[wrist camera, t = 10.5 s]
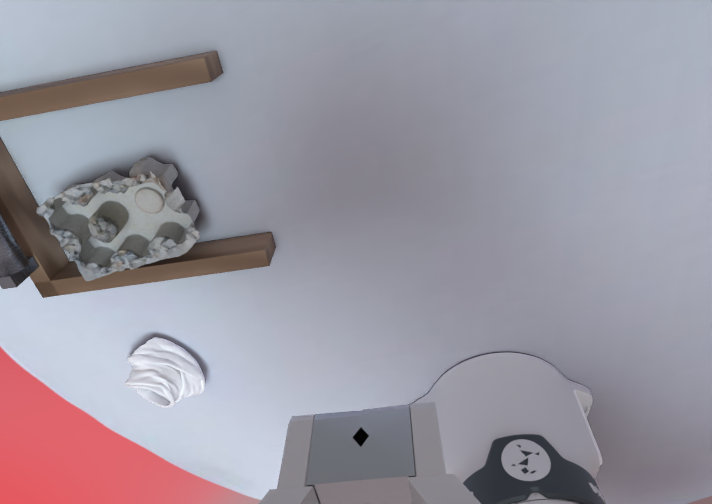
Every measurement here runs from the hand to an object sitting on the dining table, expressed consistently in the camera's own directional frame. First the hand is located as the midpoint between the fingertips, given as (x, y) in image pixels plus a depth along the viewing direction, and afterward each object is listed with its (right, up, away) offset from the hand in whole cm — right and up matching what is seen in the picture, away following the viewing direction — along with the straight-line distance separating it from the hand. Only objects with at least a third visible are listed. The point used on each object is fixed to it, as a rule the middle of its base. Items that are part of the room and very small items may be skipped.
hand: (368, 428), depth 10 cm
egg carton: (-20, +10, +30) cm, 37 cm away
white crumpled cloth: (-19, -7, +39) cm, 44 cm away
